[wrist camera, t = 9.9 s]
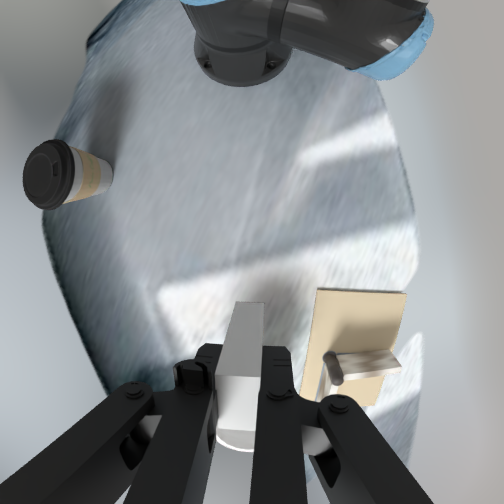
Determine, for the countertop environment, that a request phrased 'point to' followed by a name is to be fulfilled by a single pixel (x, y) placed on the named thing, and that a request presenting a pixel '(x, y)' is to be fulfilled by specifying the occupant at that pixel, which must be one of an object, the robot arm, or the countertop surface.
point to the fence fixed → (326, 382)
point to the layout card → (351, 337)
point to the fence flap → (361, 365)
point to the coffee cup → (63, 175)
